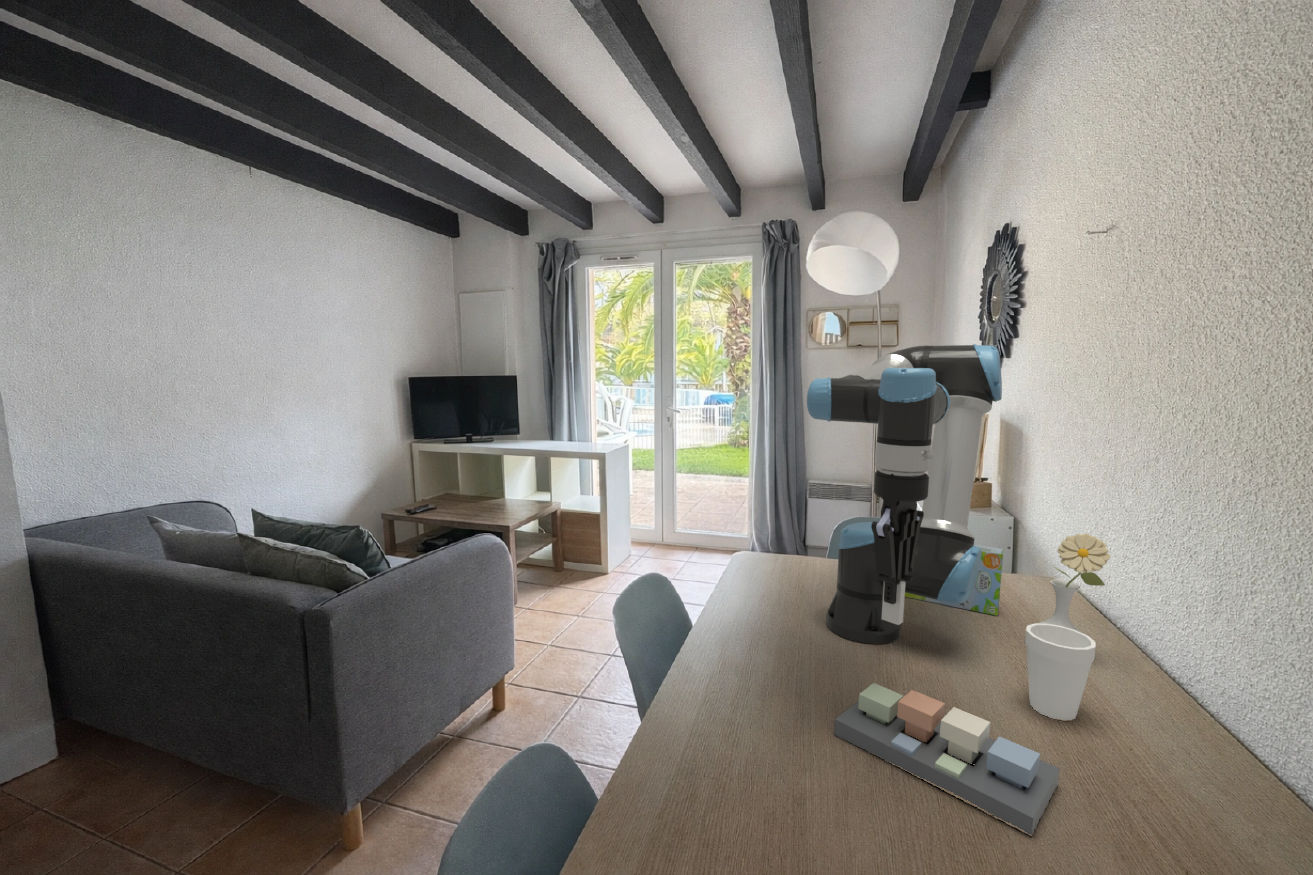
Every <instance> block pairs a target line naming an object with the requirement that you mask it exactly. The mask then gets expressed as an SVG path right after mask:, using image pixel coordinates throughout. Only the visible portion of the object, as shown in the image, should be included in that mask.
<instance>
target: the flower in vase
mask: <svg viewBox="0 0 1313 875" xmlns="http://www.w3.org/2000/svg"><path fill="white" fill-rule="evenodd" d="M1057 548H1058V549H1057V550H1056V552H1057V553H1058V557H1059V559H1060V563H1061V564H1063V566H1066V567H1067V568H1068V569H1071V570H1073V571H1075V572H1077V574H1076V575H1075V576H1074V577H1073V578H1071V577H1070V575H1069V574H1067V573H1066V572H1065V571H1063V570H1061V569H1059V568H1057V567H1056V566H1055V565H1054V564H1053V563H1051V564H1052V566H1053V568H1055V569H1056V570H1057V571H1058V572H1060V573H1062V574H1063V575H1065V576H1067V577H1068V578H1069V579H1071V580H1066V579H1058V578H1057V579H1055V578H1053V579H1051V580H1049V583H1050V584H1051V586H1052V587H1053V590H1054V593H1055V594H1054V595H1055V609H1054V613H1053V615H1052V616H1051V617H1050V618H1047V619H1046V620H1043V621H1040V622H1039V623H1041V624H1052V625H1058V626H1063V627H1066V628H1070V629H1073V630H1076V631H1078V632H1081V633H1083V631H1081V630H1080V629H1079V628H1078V627H1076V626H1075V624H1073V622H1072V621H1071V620H1070V615H1069V614H1070V605H1071V601H1072V600H1073V596H1074V594H1075V592H1077V591H1078V590H1079V589H1080V588H1081V585H1080V584H1078V583H1076V582H1074V580H1076V579H1077V578H1078V577H1079V576H1080V578H1081V579H1082V582H1084V584H1086V585H1088V586H1100V587H1101V586H1106V584H1105V583H1104V581H1103V580H1102V579H1101V577H1100V576H1099V575H1098V574H1097V573H1095V572H1097V571H1098V572H1099V571H1101V570H1102V569H1103V568H1104V565H1107V564H1108V561H1109V560H1110V558H1111V554H1110V553H1108V552H1109V549H1108V548H1107V543H1106V542H1104V541H1103V540H1101V539H1099V538H1097V537H1096V536H1094V535H1090V534H1089V533H1083V534H1079V533H1076V534H1074V535H1071V536H1070V535H1068V536H1066V537H1065V539H1063V540H1061V543H1060V545H1058V547H1057Z"/></svg>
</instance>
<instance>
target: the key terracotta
mask: <svg viewBox="0 0 1313 875" xmlns="http://www.w3.org/2000/svg"><path fill="white" fill-rule="evenodd" d="M945 709H946V703H945V702H943V701H940V700H938V699H935V698H933V697H930V696H928V695H926V694H924V693H921V692H918V691H915V690H914V689H911V690H910V691H908V693H907V694H906V695H903V698H902V699H901V700H900V701H898V713H897V717H898V718H901V719H903V720H905V721H906V723H905V733H906V734H908V735H910V737H911V736H912V738H913V737H914V739H915V738H916V739H918V740H919V741H921V742H923V743H924V742H925V744H926V742H927V741H928V740H929V739H930V738H931V737H932V736H933V735H934V728H935V727H936V726H937V725H938V724H939V723H940V722H941V720H942V719H943V718H944V717H945V712H946V711H945Z"/></svg>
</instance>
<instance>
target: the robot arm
mask: <svg viewBox="0 0 1313 875" xmlns="http://www.w3.org/2000/svg"><path fill="white" fill-rule="evenodd" d="M1002 377H1003V376H1002V365H1001V355H1000V352H999V350H998V348H997V347H995V346H993V345H985V344H984V345H982V344H974V343H973V344H965V345H964V344H961V345H958V344H956V345H955V344H954V345H917V346H910V347H907V348H903V349H898V350H896V351H892V352H890V353H887V354H883V355H881V356H880V357H878V358H877V359H876V360H875V361H874V362H873V363H872V364H871V365H870V366H867V367H865V368H862V369H859V370H857V371H855V372H852V373H849V374H847V375H845V376H842V377H838V378H837V377H835V378H834V377H826V378H825V377H824V378H823V377H822V378H821V377H820V378H815V379H814V380H812V381H811V382H810V384H809V386H808V388H807V389H808V390H807V394H806V407H807V408H806V409H807V411H808V414H809V416H810V417H812V419H815V420H821V421H827V422H843V423H844V422H848V423H849V422H850V423H861V424H862V423H865V424H874V425H876V424H877V432H876V433H877V434H876V436H877V437H876V444H875V445H876V447H875V460H874V466H875V468H876V469H878V470H876V471H875V472H874V479H873V480H874V481H873V494H874V495H875V496H877V497H878V498H881V499H882V504H881V505H882V506H881V508H880V520H879V521H862V522H861V521H860V522H854V523H851V524H848V525H846V526H844V527H843V528H842V529H841V531H840V535H839V536H840V537H839V544H838V545H837V546H838V547H837V548H838V559H837V560H838V561H837V579H836V580H837V581H836V591H835V593H834V595H833V597H832V600H831V603H830V604H829V608H828V609H827V612H826V626H827V627H828V629H829V630H830V631H831V632H833V633H834V634H836V635H838V636H840V637H842V638H845V639H848V640H850V641H853V642H857V643H863V644H872V645H873V644H876V645H880V644H881V645H883V644H890V643H893V642H895V641H897V640H898V639H899V638H900V636H901V624H902V623H904V610H905V598H906V597H905V592H906V593H910V594H915V595H919V596H923V597H927V598H932V599H936V600H938V601H946V602H952V603H958V604H959V603H963V602H965V601H966V600H967V599H968V598H969V596H970V594H971V592H972V590H973V587H974V584H975V581H976V578H977V574H978V571H979V566H980V560H981V555H982V551H981V549H980V548H978V547H977V546H974V545H975V535H973V533H972V532H971V531H970V530H969V528H968V526H969V524H968V523H969V519H970V518H969V516H970V512H971V511H970V510H971V504H972V503H971V501H972V496H973V495H972V494H973V488H974V487H973V486H974V480H975V473H976V472H975V471H976V464H977V458H978V457H977V456H978V450H979V443H980V442H979V441H980V435H981V426H982V419H983V417H984V415H986V414H987V413H989V412H991V411H992V408H993V402H994V403H995V402H999V401H1001V400H1002V398H1003V397H1002V396H1003V395H1002V394H1003V382H1002V381H1003V380H1002V379H1003V378H1002ZM933 426H934V428H933ZM932 433H933V434H932ZM921 501H923V502H922V508H921V510H918V502H921Z"/></svg>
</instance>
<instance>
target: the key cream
mask: <svg viewBox="0 0 1313 875" xmlns="http://www.w3.org/2000/svg"><path fill="white" fill-rule="evenodd" d="M990 733H991V721H988V720H986V719H984V718H982V717H979V716H977V715H975V714H972V713H969V712H967V711H964V710H962V709H960V708H958V707H955V706H953V707H952V708H951V710H949V712H947V713H946V714H945V715H944V718H943V719H942V720H941V727H940V737H942V738H944V739H947V740H949V742H948V754H950V755H952V757H953V756H954V757H955V758H957V759H959V760H960V759H961V761H962V760H963V762H964V761H965V763H966V762H967V764H968V763H969V765H970V764H971V763H972V762H973V761H974V759H975V758H976V757H977V756H978V752H979V751H980V749H981V748H982V747H983V745H984V744H985V743H986V742H987V740H988V739H989V738H990Z"/></svg>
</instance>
